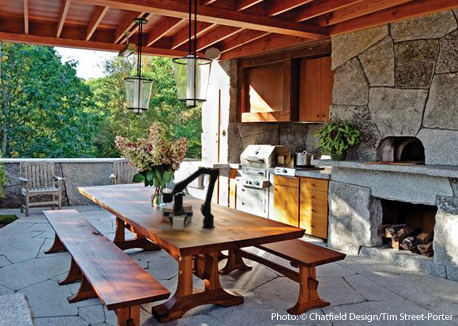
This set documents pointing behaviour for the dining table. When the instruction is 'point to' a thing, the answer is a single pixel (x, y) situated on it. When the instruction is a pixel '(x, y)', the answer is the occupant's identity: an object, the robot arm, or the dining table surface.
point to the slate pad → (164, 227)
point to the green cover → (180, 217)
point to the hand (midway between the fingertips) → (178, 226)
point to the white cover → (178, 223)
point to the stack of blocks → (185, 206)
